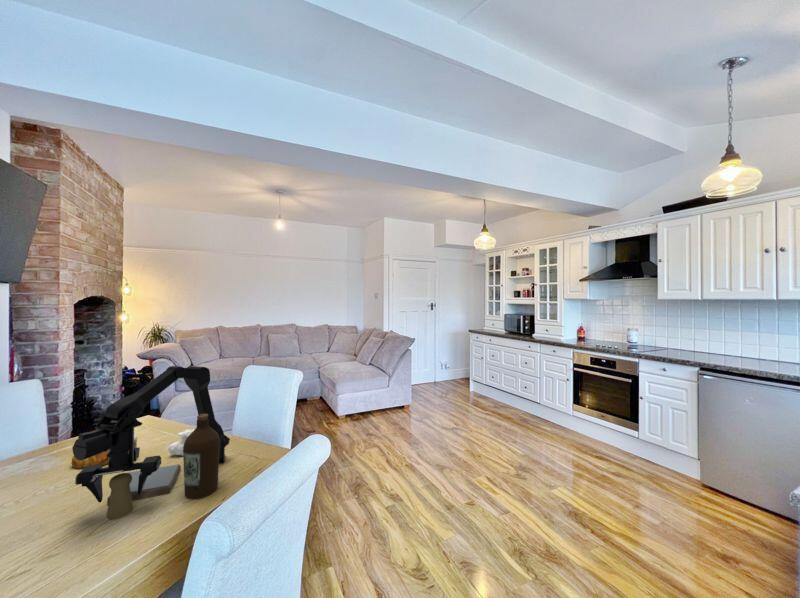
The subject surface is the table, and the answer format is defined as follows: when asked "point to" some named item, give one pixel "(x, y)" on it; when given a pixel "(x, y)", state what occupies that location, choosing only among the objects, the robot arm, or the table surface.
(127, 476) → the brown rounded upright piece
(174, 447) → the bust
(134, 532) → the table surface
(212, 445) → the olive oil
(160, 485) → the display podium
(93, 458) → the croissant
